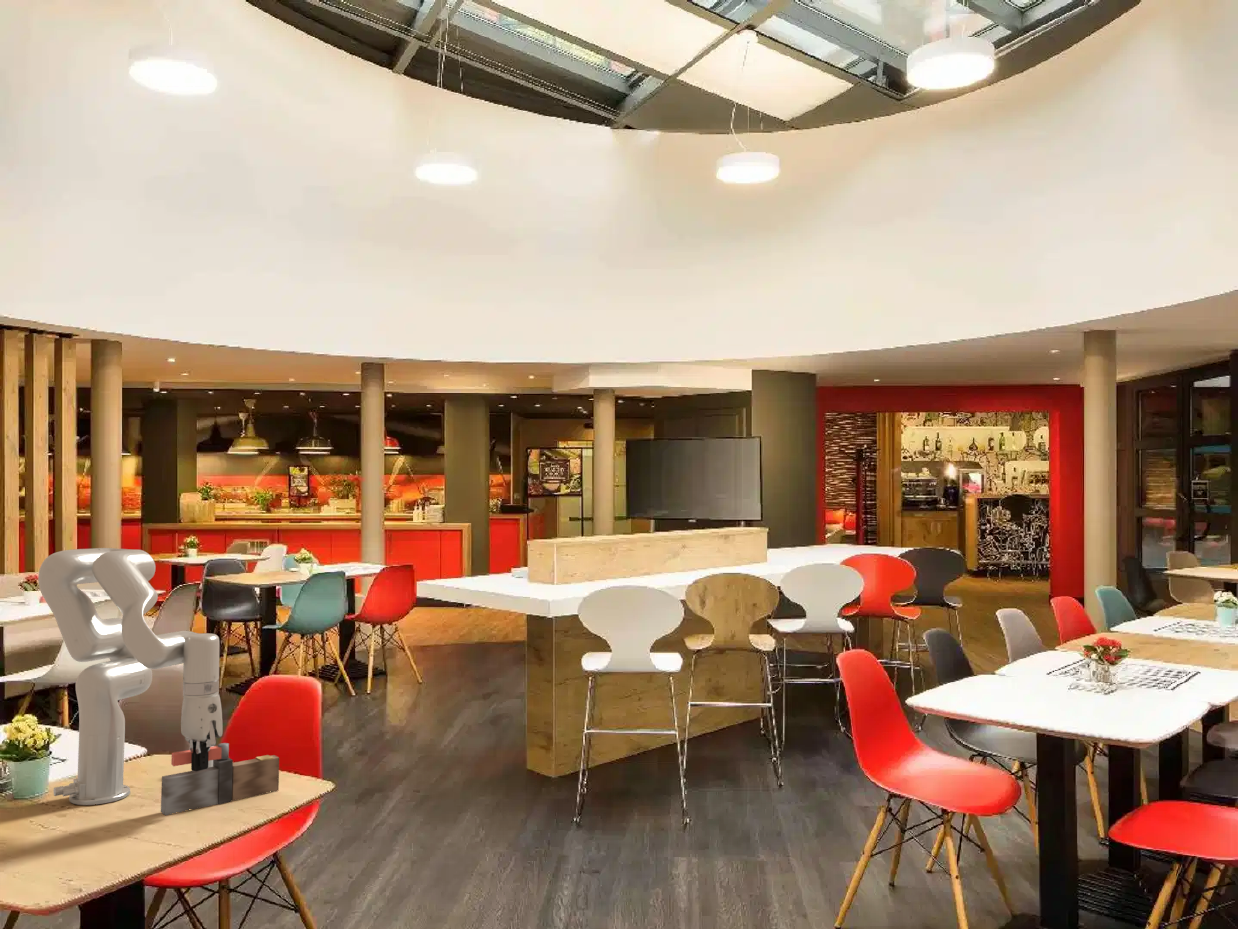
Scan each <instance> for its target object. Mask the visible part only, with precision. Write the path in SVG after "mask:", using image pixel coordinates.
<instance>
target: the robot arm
mask: <svg viewBox="0 0 1238 929" xmlns="http://www.w3.org/2000/svg"><path fill="white" fill-rule="evenodd" d="M155 572H156V562H155V561H154V558H153V557H152V555H150V554H149V553H148V552H146V551H145V550H142V549H128V548H112V547H111V548H110V547H97V548H78V549H77V548H76V549H75V548H74V549H66V550H65V549H64V550H60V551H57V552H54V553H52V554H50V555H48V556H46V558H45V559H44V560H43V561H42V562H41V565H40V567H39V570H38V580H37V581H38V586H39V591H40V593H41V595H42V597H43V599H44V601H45V603H46V604H47V606H48V607H49V609H50V610H51V613H52V614H53V616H54V619H55V621H56V624H57V627H58V629H59V632H60V635H61V636H62V639H63V642H64V644H65V646H66V648H67V651H68V653H69V655H70V657H71V658H72V659H73V660H74V661H75V662H79V663H86V662H87V663H88V662H94V661H99V660H105V659H109V660H108V661H103V662H99V663H95V664H92V665H90V666H88V667H86V668H84V669H83V670H82V671H80V673H79V674H78V676H77V678H76V681H75V694H76V699H77V704H78V705H77V706H78V717H79V720H78V721H79V722H78V753H77V754H78V755H77V757H78V758H77V778H74V779H73V782H72V783H69V784H68V785H62V786H56V787H54V788H53V796H54V797H57V796H62V797H68V796H69V798H68V801H69V803H71V804H74V805H79V806H94V805H95V804H96V805H102V804H108V803H112V802H113V803H114V802H116V801H119V800H122V799H124V798H126V797H128V796H129V795H130V794H131V788H130V786H128V785H126V784H124V769H125V768H124V767H125V766H124V765H125V741H126V740H125V739H126V738H125V736H126V735H125V734H126V719H125V715H124V714H125V713H124V712H123V710H122V707H121V706H120V705H119V702H118V701H120V700H124V699H127V698H132V697H135V696H139V695H141V694H143V693H145V692H147V691H148V689H149V688H150V686H151V685H152V682H153V670H157V669H162V668H167V667H172V666H178V665H182V664H183V665H182V666H183V667H182V668H183V671H182V698H183V699H182V705H181V713H180V714H181V717H180V731H181V733H180V734H181V735H182V736H183V737H184V740H185V741H186V742H188V743H189V750H190V751H191V752H193V753H191V764H190V771H192V770H193V771H200V770H204V769H207V768H208V754H209V751H210V747H211V746H217V745H216V744H217V742H216V739H219V738H221V737H222V736H223V710H222V702H221V697H220V693H219V691H220V637H219V636H218V635H217V634H215V633H211V632H210V633H208V632H206V633H199V632H195V631H194V632H193V631H189V630H180V631H173V632H165V633H161V634H155V633H154V631H153V630H152V629H151V628H150V626H149V625H148V623H147V622H146V620H145V617H144V615H145V614H146V613H148V612H149V611H150V610H151V609H152V608H153V607H154V606H155V604H156V603H157V601H158V597H159V595H158V593H157V591H156V589H155V588H154V587H153V586H152V585H151V583H150V582H149V581H151V579H152V578H154V576H155V574H156V573H155ZM94 583H98V584H99V586H100V587H101V588H102V589H103V590H104V592H105V593H106V594H107V596H108V597H109V598H110V600H111V601H112V602H113V603H114V605H115V606H116V607H117V609H118V610H119V611H120V613H121V614H122V618H119V617H114V618H105V619H103V618H101V617H100V616H99V613H98V611H97V609H96V607H95V604H94V602H93V601H92V599H91V598H90V597H89V595H87V594H86V593H85V592H84V591H83V590H82V589H80V588H79V587H78V585H83V584H94Z"/></svg>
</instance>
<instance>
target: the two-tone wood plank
mask: <svg viewBox="0 0 1238 929" xmlns="http://www.w3.org/2000/svg"><path fill="white" fill-rule="evenodd" d="M279 777H280V757H279V756H278V755H275V754H273V755H269V754H266V755H265V754H264V755H261V756H256V757H255V758H253V759H248V760H247V759H246V760H241V761H235V762H234V760H233V759H232V758H230V757H229V758H227V759H222V760H220V759H216V760H213V767H209V768H207V769H204V770H200V771H192V770H188V771H183V772H178V773H173V774H168V775H162V776H161V791H160V792H161V795H160V796H161V798H160V813H161V812H162V813H161V814H162V815H164V816H166V817H167V816H169V814H170V815H173V814H172V813H175V814H177V813H176V812H179V813H182V811H184V812H186V811H185V810H188V811H190V810H189V809H193V810H196V809H201V808H206V807H211V806H214V805H218V806H219V805H223V804H227V803H228V804H229V803H232V802H233V801H238V799H239V800H242V799H241V798H243V799H246V798H245V797H248V798H251V797H256V796H255V795H257V796H260V795H259V794H261V795H263V794H262V793H266V792H270V791H275V792H278V791H279V784H280V781H279V780H280V778H279ZM277 790H278V791H277ZM266 794H267V793H266Z"/></svg>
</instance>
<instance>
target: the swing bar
mask: <svg viewBox="0 0 1238 929" xmlns="http://www.w3.org/2000/svg"><path fill="white" fill-rule="evenodd" d="M229 752H230V743H228V742H223V743H222V742H221V743H218V744H217V745H215V746H213V747H210V751H209V754H208V761H210V760H216V759H220V760H222V759H227V758H230V756H229ZM191 753H193V752H191V751H190V749H188V750H181V751H176V752H175V751H174V752H171V760H170V761H171V762H170V763H171V765H172V766H173V767H177V766H184V765H191Z"/></svg>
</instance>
